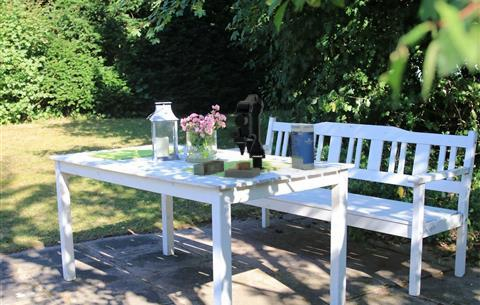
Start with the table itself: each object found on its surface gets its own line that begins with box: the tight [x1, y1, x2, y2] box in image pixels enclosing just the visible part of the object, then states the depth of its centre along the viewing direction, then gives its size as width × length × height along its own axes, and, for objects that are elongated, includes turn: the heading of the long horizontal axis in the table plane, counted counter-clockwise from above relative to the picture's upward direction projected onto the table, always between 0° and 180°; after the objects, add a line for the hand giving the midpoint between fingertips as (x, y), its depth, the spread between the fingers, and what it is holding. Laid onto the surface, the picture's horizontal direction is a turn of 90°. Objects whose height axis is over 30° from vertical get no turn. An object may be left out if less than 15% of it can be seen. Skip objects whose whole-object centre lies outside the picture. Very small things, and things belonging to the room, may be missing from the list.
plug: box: [241, 161, 252, 171], centre depth 309 cm, size 4×4×7 cm
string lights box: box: [290, 122, 315, 171], centre depth 331 cm, size 13×8×26 cm, turn 30°
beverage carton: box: [192, 159, 225, 177], centre depth 322 cm, size 8×19×7 cm, turn 145°
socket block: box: [223, 167, 261, 179], centre depth 310 cm, size 12×16×4 cm
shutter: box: [227, 161, 243, 170], centre depth 311 cm, size 6×6×4 cm
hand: (245, 154), depth 308 cm, fingers open, 9 cm apart
